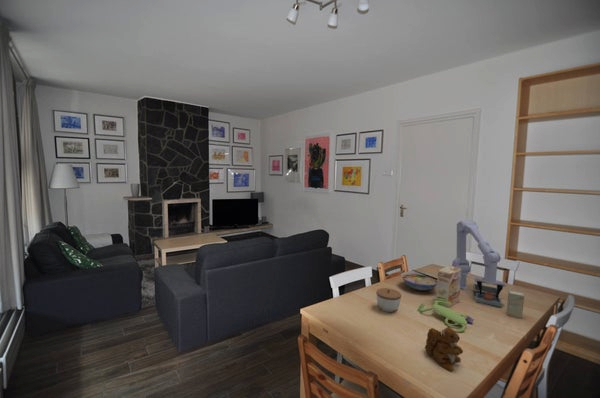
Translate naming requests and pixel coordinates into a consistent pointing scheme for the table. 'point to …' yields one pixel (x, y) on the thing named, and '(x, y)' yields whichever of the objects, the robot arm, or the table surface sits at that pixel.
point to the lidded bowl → (388, 299)
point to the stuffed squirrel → (444, 346)
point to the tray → (495, 302)
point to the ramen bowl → (419, 280)
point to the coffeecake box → (448, 285)
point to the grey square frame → (485, 289)
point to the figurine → (448, 314)
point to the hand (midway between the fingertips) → (488, 296)
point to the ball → (488, 296)
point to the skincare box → (515, 304)
